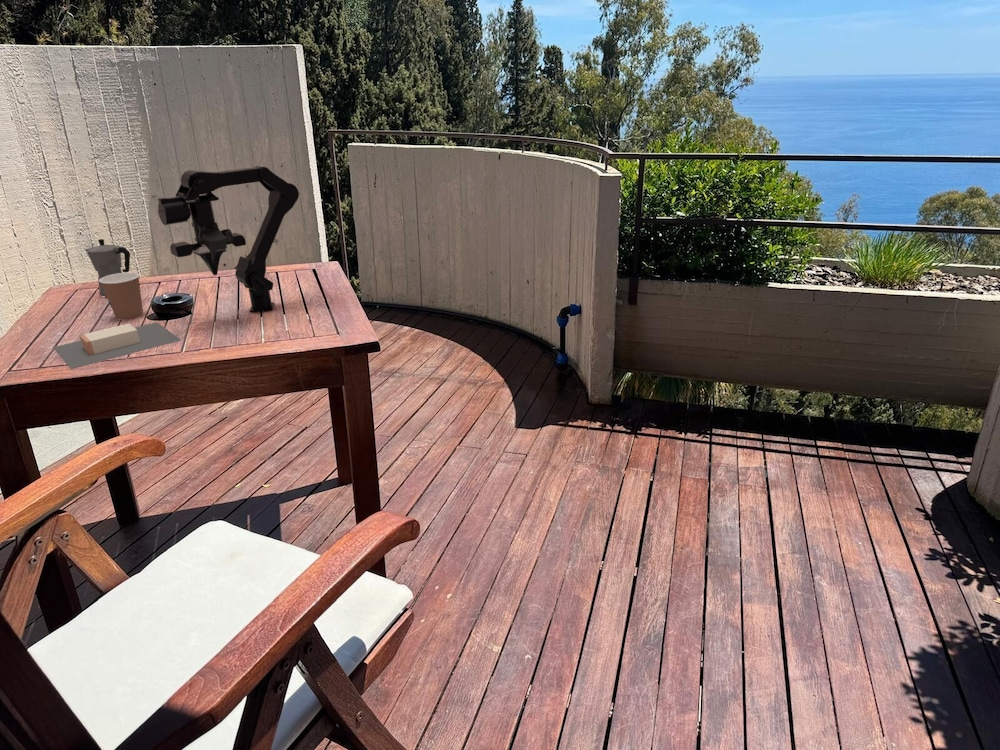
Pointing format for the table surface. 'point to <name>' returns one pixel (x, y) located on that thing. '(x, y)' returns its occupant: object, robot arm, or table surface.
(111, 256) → the coffeepot
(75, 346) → the mat
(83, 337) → the tan bar
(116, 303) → the coffee cup
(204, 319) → the table surface
